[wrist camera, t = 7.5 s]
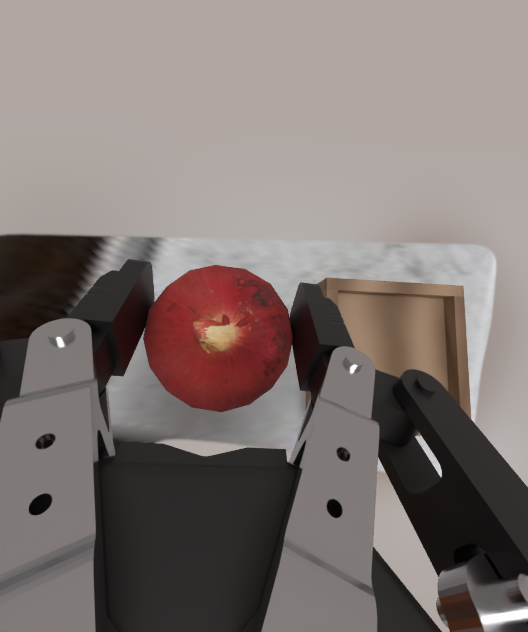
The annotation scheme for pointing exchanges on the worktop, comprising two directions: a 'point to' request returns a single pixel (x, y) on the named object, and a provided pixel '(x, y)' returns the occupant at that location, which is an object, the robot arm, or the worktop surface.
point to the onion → (218, 338)
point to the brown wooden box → (407, 329)
